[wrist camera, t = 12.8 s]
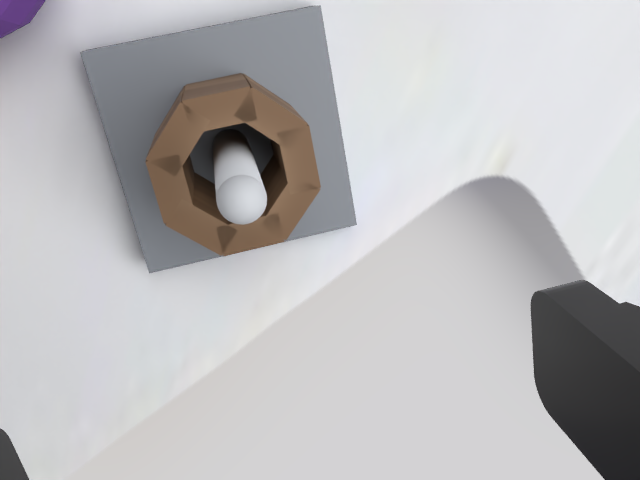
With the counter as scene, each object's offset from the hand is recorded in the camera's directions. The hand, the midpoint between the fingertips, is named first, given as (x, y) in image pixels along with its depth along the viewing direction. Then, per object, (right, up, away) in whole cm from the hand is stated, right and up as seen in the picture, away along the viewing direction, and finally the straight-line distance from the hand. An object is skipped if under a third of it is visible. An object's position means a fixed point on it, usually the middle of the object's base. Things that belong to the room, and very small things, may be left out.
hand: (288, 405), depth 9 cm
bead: (-3, +7, +18) cm, 19 cm away
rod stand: (-4, +7, +19) cm, 21 cm away
